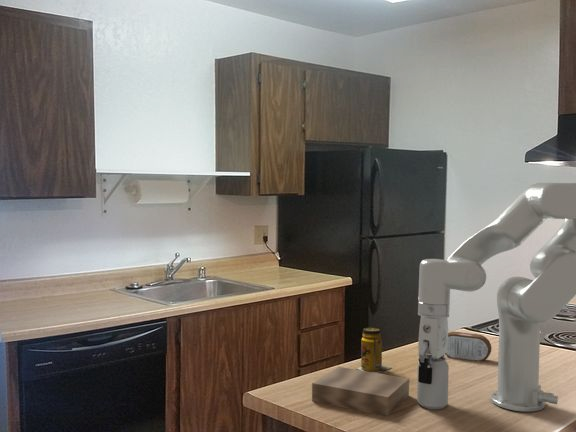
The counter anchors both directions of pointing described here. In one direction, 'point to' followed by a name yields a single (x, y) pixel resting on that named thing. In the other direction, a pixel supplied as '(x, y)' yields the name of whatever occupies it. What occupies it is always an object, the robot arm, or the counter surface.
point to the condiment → (371, 351)
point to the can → (435, 386)
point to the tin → (468, 346)
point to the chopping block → (361, 390)
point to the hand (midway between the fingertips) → (431, 377)
